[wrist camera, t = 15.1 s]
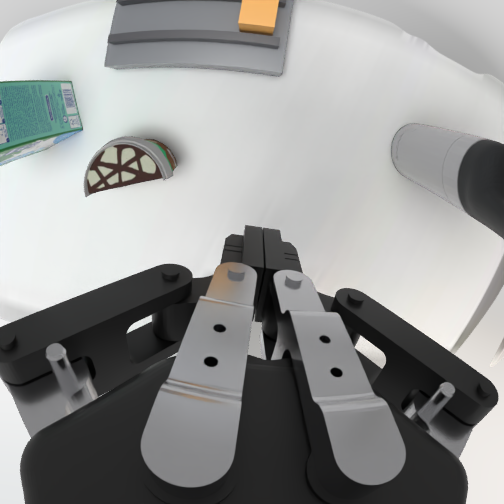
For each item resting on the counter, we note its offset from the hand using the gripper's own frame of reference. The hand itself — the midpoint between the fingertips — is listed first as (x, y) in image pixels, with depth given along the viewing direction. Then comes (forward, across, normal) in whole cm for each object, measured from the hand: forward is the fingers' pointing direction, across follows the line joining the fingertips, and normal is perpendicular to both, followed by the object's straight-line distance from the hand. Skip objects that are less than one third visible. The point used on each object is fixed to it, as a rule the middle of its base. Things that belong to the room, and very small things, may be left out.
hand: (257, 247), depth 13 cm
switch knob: (+26, +3, -18) cm, 32 cm away
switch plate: (+30, +11, -18) cm, 37 cm away
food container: (+31, +16, +2) cm, 35 cm away
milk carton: (+30, +34, -4) cm, 45 cm away
